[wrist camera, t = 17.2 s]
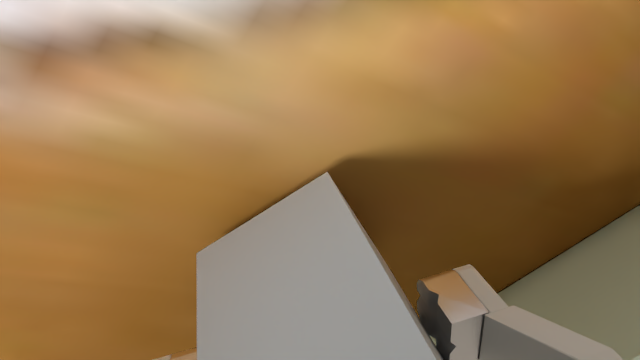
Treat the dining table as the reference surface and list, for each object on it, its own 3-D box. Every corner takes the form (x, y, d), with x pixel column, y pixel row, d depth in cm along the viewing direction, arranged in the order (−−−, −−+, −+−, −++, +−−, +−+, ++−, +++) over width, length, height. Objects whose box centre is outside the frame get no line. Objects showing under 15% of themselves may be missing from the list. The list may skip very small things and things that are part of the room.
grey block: (277, 329, 14) (333, 595, 8) (196, 252, 12) (197, 552, 6) (386, 263, 14) (521, 489, 8) (327, 171, 12) (459, 399, 6)
